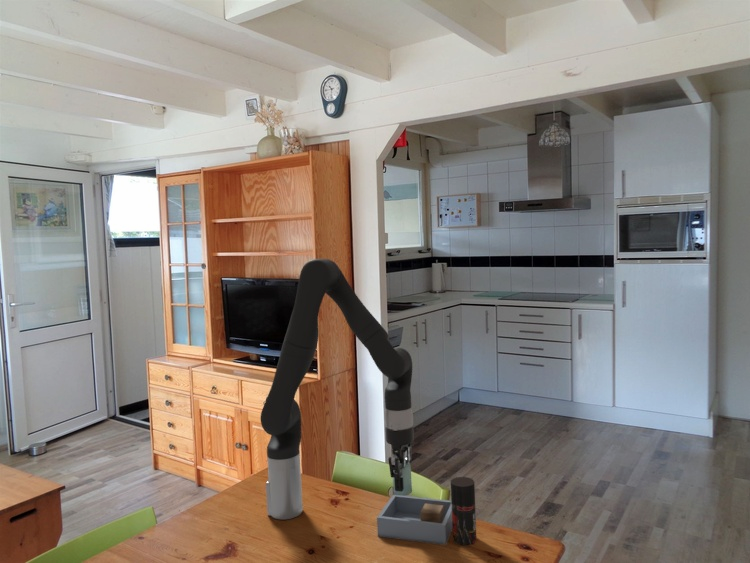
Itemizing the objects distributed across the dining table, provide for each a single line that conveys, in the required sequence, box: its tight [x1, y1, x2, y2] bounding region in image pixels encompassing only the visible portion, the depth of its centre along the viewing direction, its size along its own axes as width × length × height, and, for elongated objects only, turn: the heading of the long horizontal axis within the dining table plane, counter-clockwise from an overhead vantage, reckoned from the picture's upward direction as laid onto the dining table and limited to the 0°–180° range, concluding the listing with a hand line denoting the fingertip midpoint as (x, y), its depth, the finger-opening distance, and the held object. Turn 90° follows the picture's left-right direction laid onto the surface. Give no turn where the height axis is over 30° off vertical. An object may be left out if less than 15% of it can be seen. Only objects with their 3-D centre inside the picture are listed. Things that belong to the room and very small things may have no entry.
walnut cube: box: [420, 503, 444, 523], centre depth 146 cm, size 5×5×5 cm
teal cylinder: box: [392, 463, 413, 496], centre depth 148 cm, size 5×5×7 cm
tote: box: [376, 494, 453, 546], centre depth 147 cm, size 18×14×5 cm
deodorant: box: [450, 476, 477, 547], centre depth 140 cm, size 6×6×15 cm
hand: (402, 486), depth 148 cm, fingers closed on teal cylinder, 5 cm apart
